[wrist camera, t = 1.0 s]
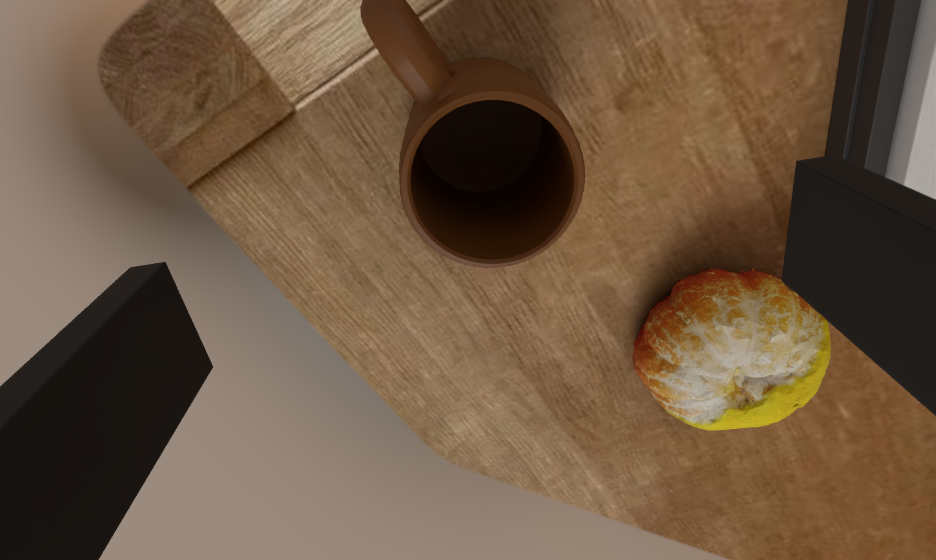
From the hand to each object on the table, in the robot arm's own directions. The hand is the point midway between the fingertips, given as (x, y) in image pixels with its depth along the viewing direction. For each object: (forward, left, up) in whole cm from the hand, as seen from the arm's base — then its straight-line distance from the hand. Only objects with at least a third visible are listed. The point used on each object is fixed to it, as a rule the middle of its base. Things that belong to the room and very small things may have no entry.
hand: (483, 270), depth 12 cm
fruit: (+17, +14, -20) cm, 30 cm away
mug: (0, 0, -20) cm, 20 cm away
